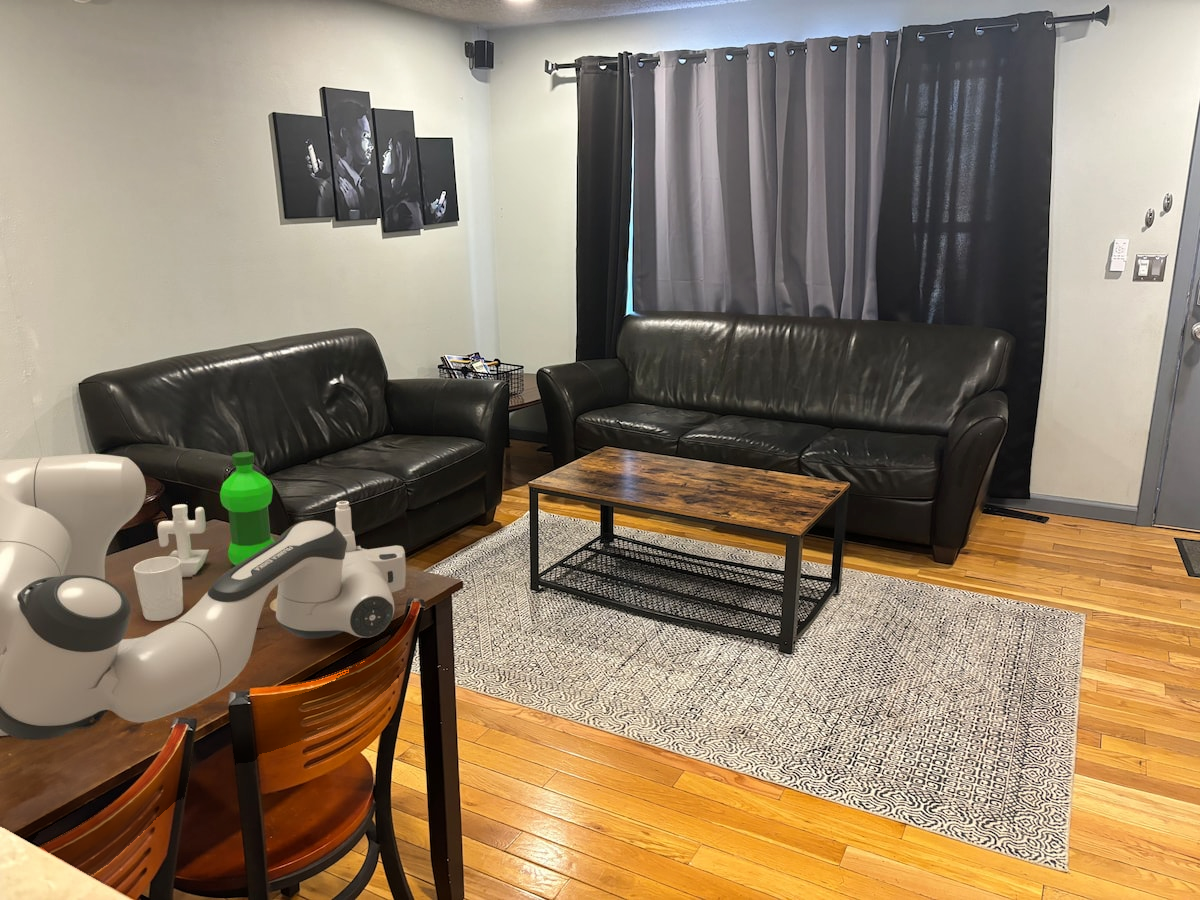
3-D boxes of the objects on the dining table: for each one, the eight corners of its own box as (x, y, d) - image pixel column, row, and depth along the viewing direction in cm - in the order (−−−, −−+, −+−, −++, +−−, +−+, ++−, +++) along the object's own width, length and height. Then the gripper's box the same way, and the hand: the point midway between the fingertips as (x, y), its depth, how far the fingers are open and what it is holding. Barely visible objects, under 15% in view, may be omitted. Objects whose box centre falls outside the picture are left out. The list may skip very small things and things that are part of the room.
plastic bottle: (289, 560, 188) (279, 450, 181) (257, 579, 178) (245, 463, 172) (251, 554, 191) (240, 446, 184) (217, 572, 181) (204, 458, 175)
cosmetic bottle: (338, 603, 168) (333, 496, 162) (369, 606, 167) (364, 498, 161) (326, 617, 162) (320, 506, 156) (357, 619, 161) (352, 508, 156)
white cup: (168, 625, 158) (161, 574, 156) (130, 620, 160) (123, 570, 157) (195, 606, 166) (189, 558, 163) (159, 602, 167) (153, 554, 165)
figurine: (170, 566, 184) (161, 500, 180) (216, 565, 185) (208, 499, 181) (157, 580, 177) (148, 511, 173) (205, 578, 178) (197, 510, 174)
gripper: (294, 606, 146) (286, 575, 159) (413, 587, 155) (397, 559, 167) (291, 572, 145) (283, 544, 157) (412, 554, 153) (395, 528, 165)
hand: (343, 551), depth 162 cm, fingers closed on cosmetic bottle, 3 cm apart
